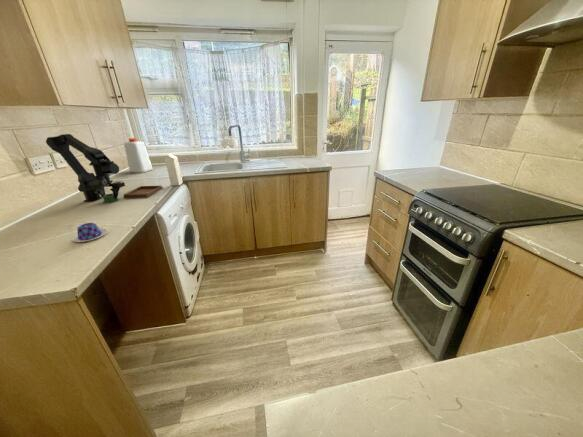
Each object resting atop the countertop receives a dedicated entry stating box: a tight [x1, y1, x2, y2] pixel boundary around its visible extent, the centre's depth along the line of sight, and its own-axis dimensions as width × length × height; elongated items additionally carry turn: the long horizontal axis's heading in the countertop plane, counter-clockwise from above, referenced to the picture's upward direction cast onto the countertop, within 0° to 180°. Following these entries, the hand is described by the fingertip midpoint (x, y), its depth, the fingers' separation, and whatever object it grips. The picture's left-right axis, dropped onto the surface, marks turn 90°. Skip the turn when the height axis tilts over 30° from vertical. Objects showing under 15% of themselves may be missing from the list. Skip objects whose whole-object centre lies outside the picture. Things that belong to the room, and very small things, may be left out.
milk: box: [164, 152, 184, 187], centre depth 170 cm, size 6×6×22 cm
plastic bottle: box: [123, 137, 154, 174], centre depth 213 cm, size 15×15×28 cm
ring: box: [102, 193, 119, 204], centre depth 144 cm, size 6×6×4 cm
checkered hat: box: [71, 222, 108, 243], centre depth 101 cm, size 12×12×5 cm
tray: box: [122, 185, 163, 199], centre depth 157 cm, size 15×19×2 cm
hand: (110, 199), depth 144 cm, fingers closed on ring, 6 cm apart
